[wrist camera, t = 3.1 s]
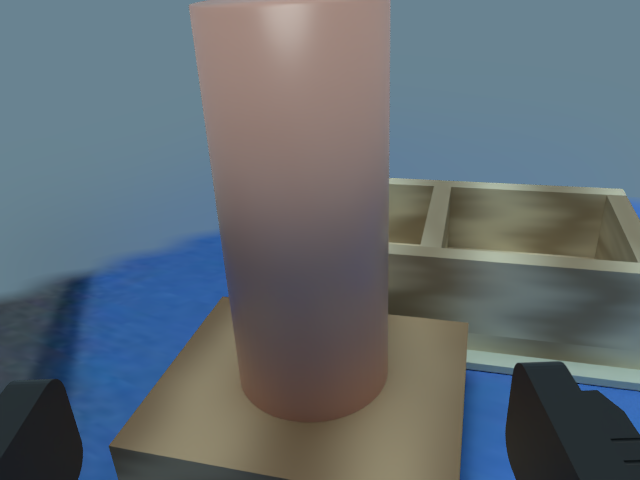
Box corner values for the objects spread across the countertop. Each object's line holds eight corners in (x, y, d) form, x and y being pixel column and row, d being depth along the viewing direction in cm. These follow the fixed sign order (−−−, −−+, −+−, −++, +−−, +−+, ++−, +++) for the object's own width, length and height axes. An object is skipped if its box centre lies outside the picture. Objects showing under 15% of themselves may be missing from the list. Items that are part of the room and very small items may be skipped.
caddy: (239, 322, 31) (228, 240, 29) (293, 241, 40) (288, 173, 38) (645, 370, 26) (669, 275, 24) (607, 265, 35) (622, 189, 33)
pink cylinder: (216, 409, 22) (150, 11, 15) (269, 319, 27) (235, -6, 21) (373, 434, 20) (370, 5, 14) (397, 334, 25) (402, -12, 19)
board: (125, 504, 22) (108, 445, 20) (229, 345, 30) (222, 296, 29) (452, 574, 19) (457, 510, 17) (464, 375, 27) (468, 322, 26)
